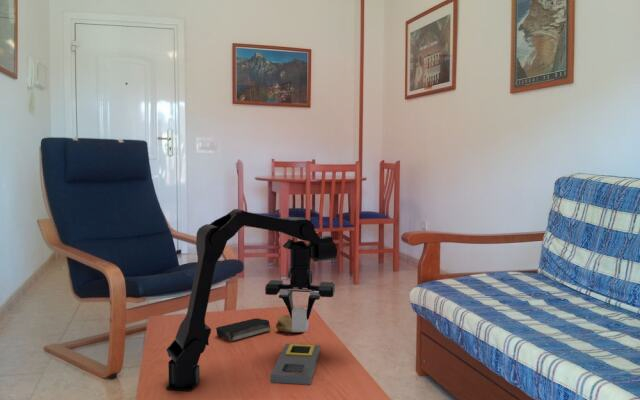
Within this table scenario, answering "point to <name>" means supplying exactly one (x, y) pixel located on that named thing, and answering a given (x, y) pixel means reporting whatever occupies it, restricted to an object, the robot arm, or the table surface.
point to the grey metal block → (299, 319)
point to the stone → (285, 324)
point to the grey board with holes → (296, 364)
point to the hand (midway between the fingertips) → (300, 318)
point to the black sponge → (243, 329)
